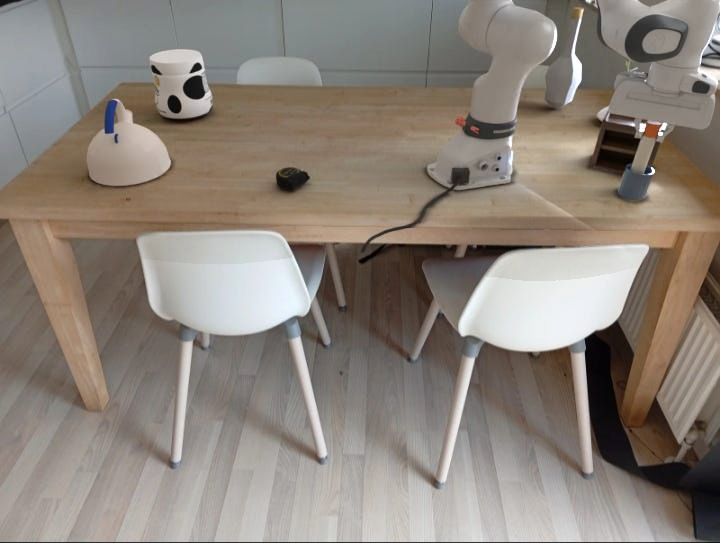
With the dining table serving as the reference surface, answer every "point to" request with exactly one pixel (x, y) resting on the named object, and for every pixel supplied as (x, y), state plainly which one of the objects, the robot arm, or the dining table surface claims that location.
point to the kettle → (125, 151)
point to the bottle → (565, 68)
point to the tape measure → (291, 178)
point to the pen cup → (635, 183)
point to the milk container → (180, 84)
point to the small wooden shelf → (619, 143)
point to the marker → (645, 146)
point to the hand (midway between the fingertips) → (648, 139)
